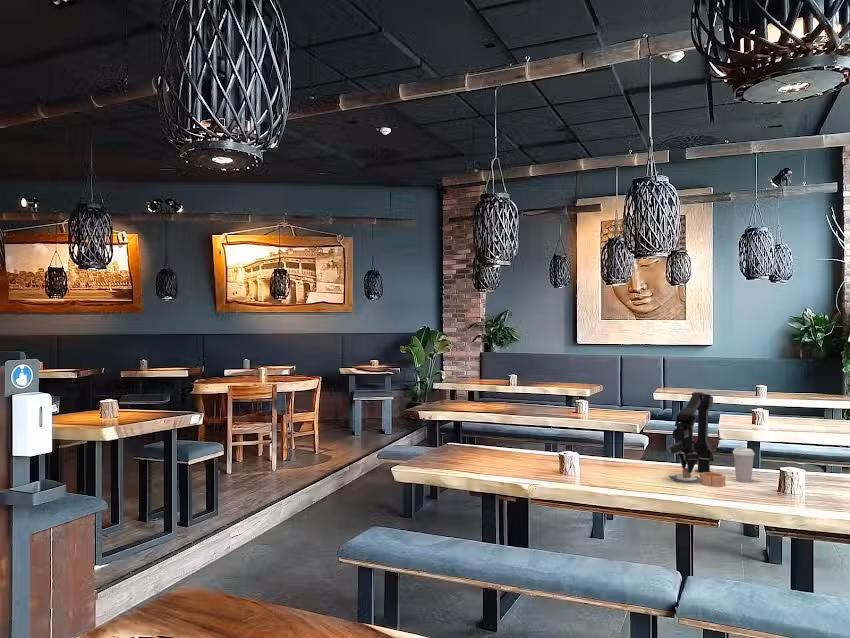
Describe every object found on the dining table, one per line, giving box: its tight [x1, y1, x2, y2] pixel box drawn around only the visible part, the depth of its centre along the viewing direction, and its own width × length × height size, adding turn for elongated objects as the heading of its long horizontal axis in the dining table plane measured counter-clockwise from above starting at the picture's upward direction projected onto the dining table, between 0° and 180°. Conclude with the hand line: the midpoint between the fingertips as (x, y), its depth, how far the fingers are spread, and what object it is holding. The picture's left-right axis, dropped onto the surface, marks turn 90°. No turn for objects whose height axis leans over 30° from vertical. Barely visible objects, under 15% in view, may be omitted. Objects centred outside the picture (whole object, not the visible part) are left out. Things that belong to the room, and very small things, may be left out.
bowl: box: [699, 471, 726, 488], centre depth 300 cm, size 10×10×5 cm
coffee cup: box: [732, 447, 755, 483], centre depth 309 cm, size 10×10×15 cm
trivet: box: [667, 475, 701, 484], centre depth 310 cm, size 14×14×1 cm
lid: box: [676, 467, 698, 481], centre depth 310 cm, size 9×9×5 cm
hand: (686, 470), depth 310 cm, fingers open, 9 cm apart
